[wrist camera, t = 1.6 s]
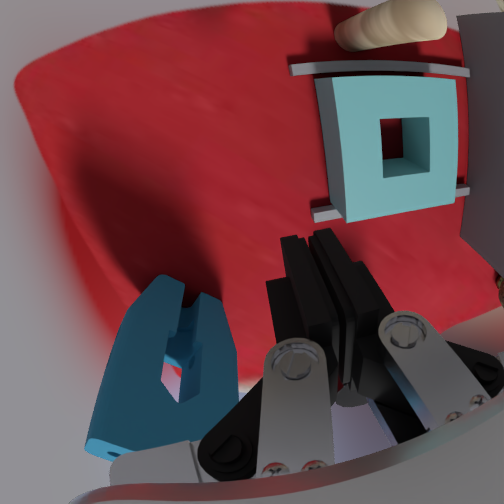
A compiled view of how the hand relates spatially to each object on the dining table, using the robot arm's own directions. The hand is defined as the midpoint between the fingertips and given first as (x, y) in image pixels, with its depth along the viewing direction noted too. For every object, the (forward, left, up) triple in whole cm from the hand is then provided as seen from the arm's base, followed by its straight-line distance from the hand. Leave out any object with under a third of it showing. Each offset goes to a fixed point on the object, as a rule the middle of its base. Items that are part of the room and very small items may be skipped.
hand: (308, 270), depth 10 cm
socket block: (-12, 0, -18) cm, 22 cm away
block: (+12, +15, -19) cm, 27 cm away
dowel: (-10, -10, -19) cm, 23 cm away
